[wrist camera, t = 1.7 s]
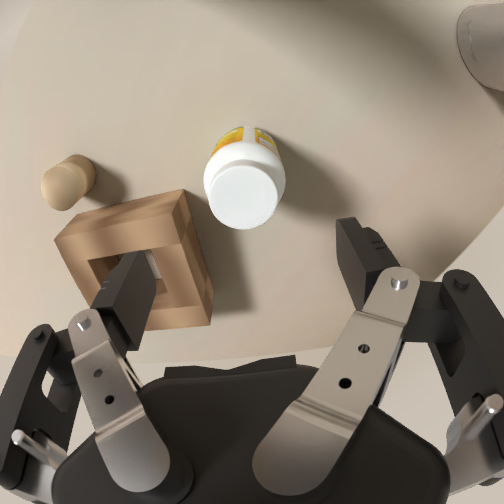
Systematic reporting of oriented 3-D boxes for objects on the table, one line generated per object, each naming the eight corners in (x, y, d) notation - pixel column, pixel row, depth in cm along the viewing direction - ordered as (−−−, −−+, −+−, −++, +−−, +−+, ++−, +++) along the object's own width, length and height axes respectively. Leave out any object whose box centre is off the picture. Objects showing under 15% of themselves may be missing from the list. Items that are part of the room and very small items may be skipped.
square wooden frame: (183, 189, 27) (171, 213, 23) (214, 292, 33) (210, 325, 29) (76, 214, 28) (53, 239, 24) (118, 302, 34) (105, 333, 30)
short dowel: (88, 149, 24) (67, 162, 21) (101, 187, 27) (83, 205, 23) (57, 161, 25) (35, 175, 21) (70, 197, 27) (50, 215, 24)
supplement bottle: (282, 129, 24) (299, 160, 16) (272, 187, 27) (283, 244, 19) (216, 121, 24) (199, 149, 16) (211, 181, 27) (194, 235, 19)
